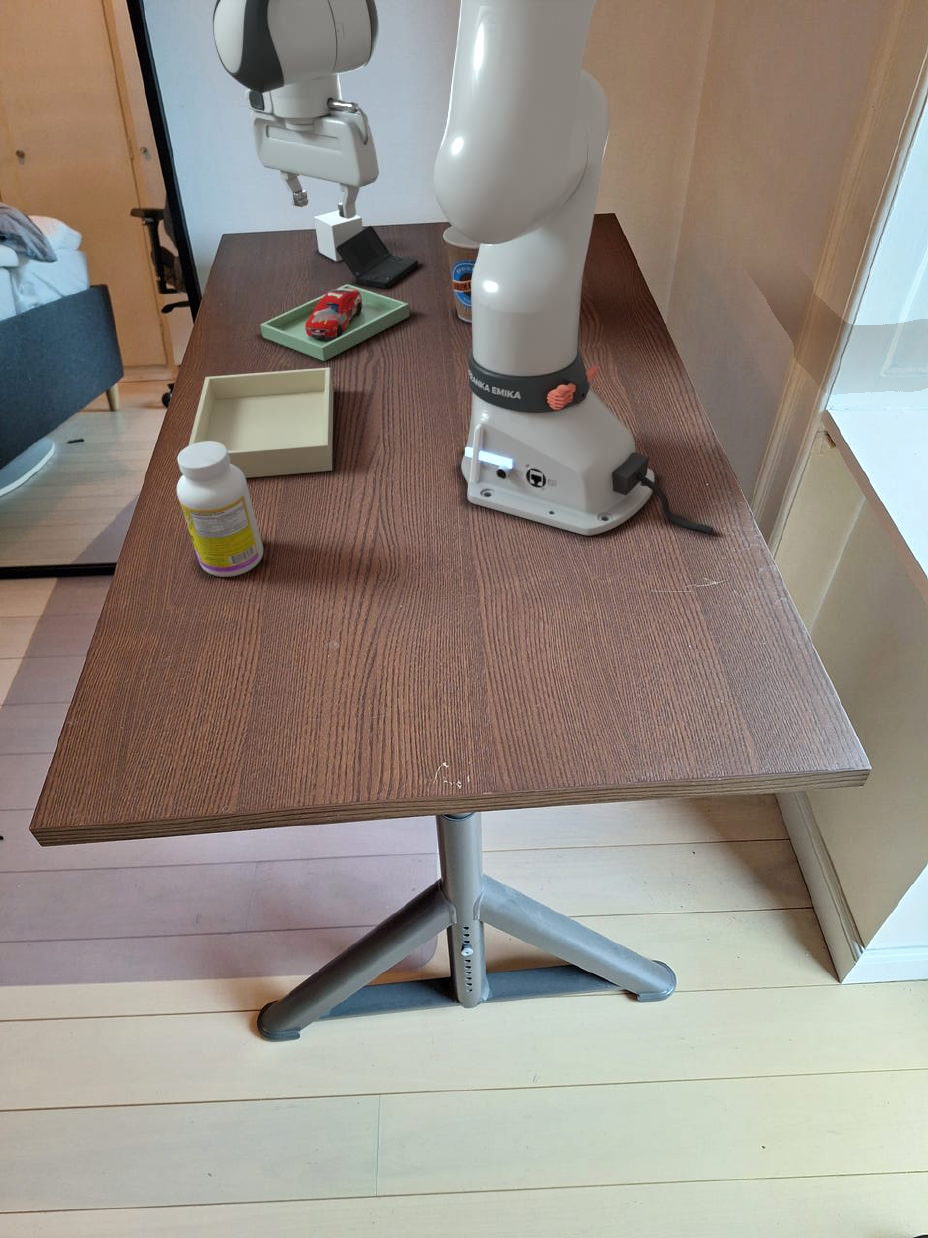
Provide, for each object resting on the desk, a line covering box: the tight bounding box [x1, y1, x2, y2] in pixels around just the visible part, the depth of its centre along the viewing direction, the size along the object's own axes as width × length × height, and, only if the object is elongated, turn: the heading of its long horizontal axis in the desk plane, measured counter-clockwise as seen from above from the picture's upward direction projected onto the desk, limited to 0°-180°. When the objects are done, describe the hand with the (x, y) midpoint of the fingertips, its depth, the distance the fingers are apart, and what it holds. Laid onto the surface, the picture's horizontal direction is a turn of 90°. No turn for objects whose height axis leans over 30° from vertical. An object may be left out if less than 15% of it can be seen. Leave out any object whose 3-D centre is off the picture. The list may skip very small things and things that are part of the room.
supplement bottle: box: [176, 441, 264, 578], centre depth 84 cm, size 7×7×13 cm
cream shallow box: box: [188, 367, 334, 478], centre depth 105 cm, size 19×16×4 cm
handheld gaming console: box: [336, 225, 419, 290], centre depth 142 cm, size 12×7×10 cm
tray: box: [260, 283, 410, 362], centre depth 128 cm, size 13×18×2 cm
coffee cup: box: [442, 225, 481, 324], centre depth 126 cm, size 10×10×12 cm
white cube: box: [313, 209, 364, 263], centre depth 149 cm, size 6×6×6 cm
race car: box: [305, 287, 363, 339], centre depth 127 cm, size 13×5×4 cm, turn 163°
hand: (323, 210), depth 117 cm, fingers open, 8 cm apart
